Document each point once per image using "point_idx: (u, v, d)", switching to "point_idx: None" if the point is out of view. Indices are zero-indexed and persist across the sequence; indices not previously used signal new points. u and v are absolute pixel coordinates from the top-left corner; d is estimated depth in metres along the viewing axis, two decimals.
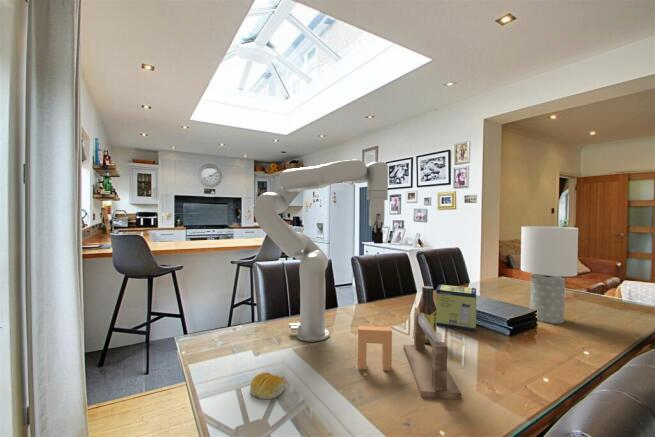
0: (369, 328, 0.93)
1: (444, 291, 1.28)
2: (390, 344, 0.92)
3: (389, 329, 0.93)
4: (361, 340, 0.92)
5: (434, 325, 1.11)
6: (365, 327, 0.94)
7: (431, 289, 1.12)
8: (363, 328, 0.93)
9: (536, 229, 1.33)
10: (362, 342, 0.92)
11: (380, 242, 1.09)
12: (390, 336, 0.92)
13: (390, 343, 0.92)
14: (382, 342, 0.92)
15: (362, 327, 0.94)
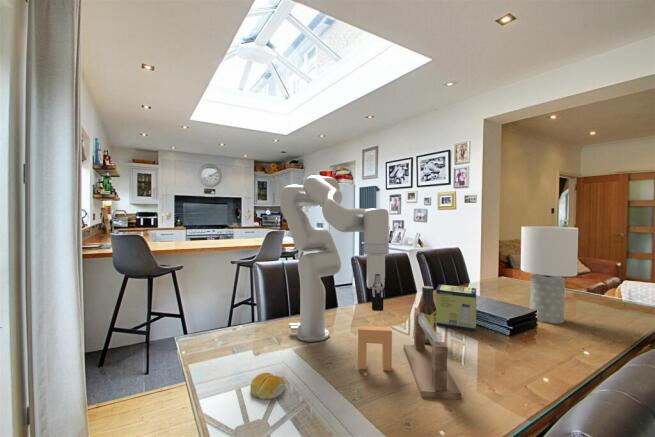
0: (369, 328, 0.93)
1: (444, 291, 1.28)
2: (390, 344, 0.92)
3: (389, 329, 0.93)
4: (361, 340, 0.92)
5: (434, 325, 1.11)
6: (365, 327, 0.94)
7: (431, 289, 1.12)
8: (363, 328, 0.93)
9: (536, 229, 1.33)
10: (362, 342, 0.92)
11: (380, 309, 0.88)
12: (390, 336, 0.92)
13: (390, 343, 0.92)
14: (382, 342, 0.92)
15: (362, 327, 0.94)
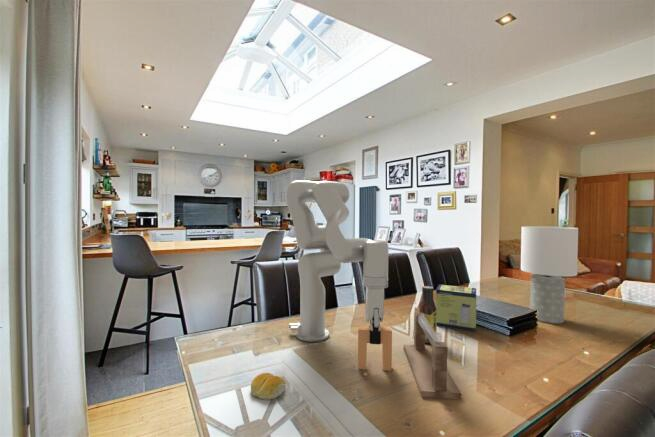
0: (369, 328, 0.93)
1: (444, 291, 1.28)
2: (390, 344, 0.92)
3: (389, 329, 0.93)
4: (361, 340, 0.92)
5: (434, 325, 1.11)
6: (365, 327, 0.94)
7: (431, 289, 1.12)
8: (363, 328, 0.93)
9: (536, 229, 1.33)
10: (362, 342, 0.92)
11: (377, 343, 0.91)
12: (390, 336, 0.92)
13: (390, 343, 0.92)
14: (382, 342, 0.92)
15: (362, 327, 0.94)
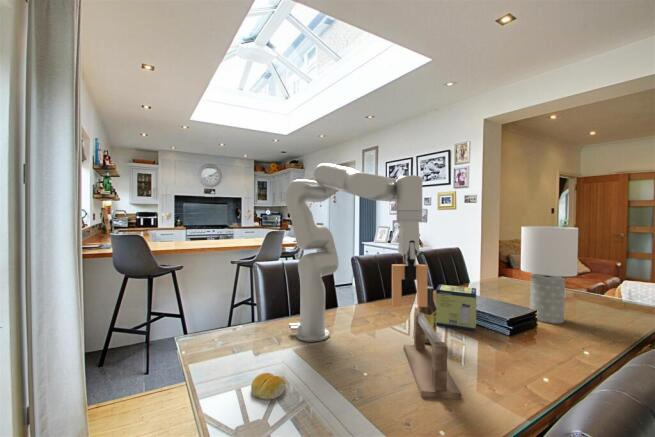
0: (403, 265, 0.92)
1: (444, 291, 1.28)
2: (426, 280, 0.90)
3: (424, 265, 0.91)
4: (396, 276, 0.91)
5: (434, 325, 1.11)
6: (399, 264, 0.93)
7: (431, 289, 1.12)
8: (397, 265, 0.92)
9: (536, 229, 1.33)
10: (397, 278, 0.91)
11: (413, 278, 0.90)
12: (425, 271, 0.90)
13: (426, 279, 0.90)
14: (417, 278, 0.90)
15: (396, 264, 0.93)
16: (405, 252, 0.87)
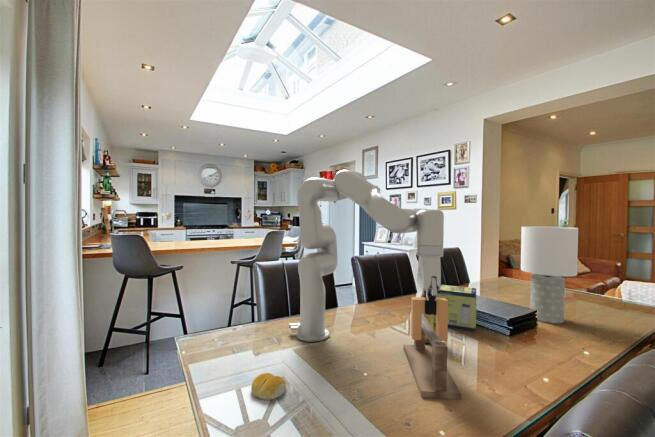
0: (423, 298, 0.92)
1: (444, 291, 1.28)
2: (446, 314, 0.90)
3: (444, 299, 0.91)
4: (416, 310, 0.91)
5: (434, 325, 1.11)
6: (419, 298, 0.93)
7: None
8: (417, 298, 0.92)
9: (536, 229, 1.33)
10: (417, 312, 0.91)
11: (433, 313, 0.90)
12: (446, 306, 0.90)
13: (446, 313, 0.90)
14: (438, 312, 0.90)
15: (416, 298, 0.93)
16: (427, 288, 0.87)
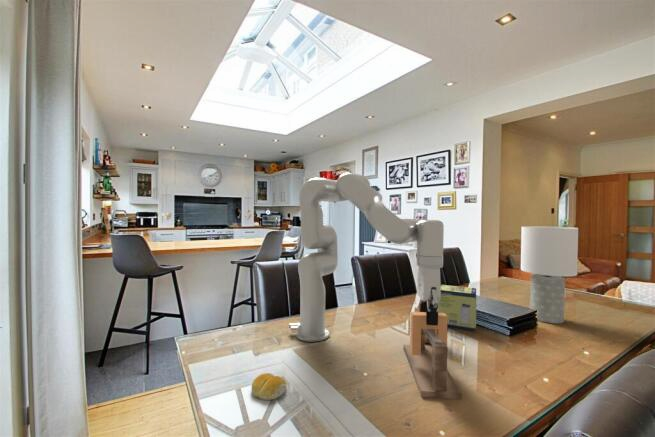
0: (423, 314, 0.92)
1: (444, 291, 1.28)
2: (445, 330, 0.90)
3: (444, 314, 0.91)
4: (415, 326, 0.91)
5: None
6: (418, 313, 0.93)
7: None
8: (417, 314, 0.92)
9: (536, 229, 1.33)
10: (416, 328, 0.91)
11: (434, 324, 0.88)
12: (445, 321, 0.90)
13: (445, 329, 0.90)
14: (437, 328, 0.91)
15: (415, 313, 0.93)
16: (426, 298, 0.87)
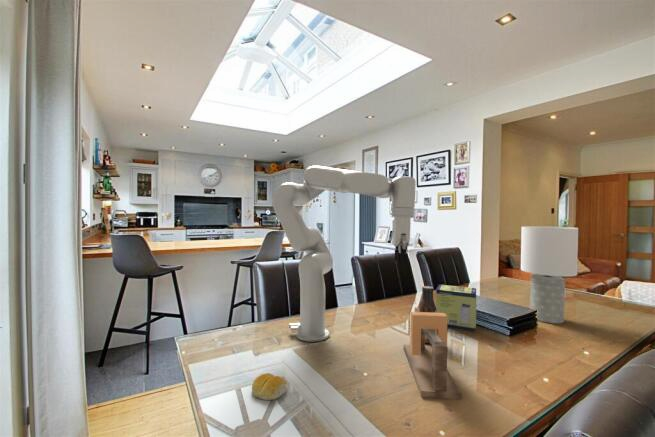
0: (423, 314, 0.92)
1: (444, 291, 1.28)
2: (445, 330, 0.90)
3: (444, 314, 0.91)
4: (415, 326, 0.91)
5: None
6: (418, 313, 0.93)
7: (431, 289, 1.12)
8: (417, 314, 0.92)
9: (536, 229, 1.33)
10: (416, 328, 0.91)
11: (404, 264, 1.00)
12: (445, 321, 0.90)
13: (445, 329, 0.90)
14: (437, 328, 0.91)
15: (415, 313, 0.93)
16: (397, 243, 1.00)
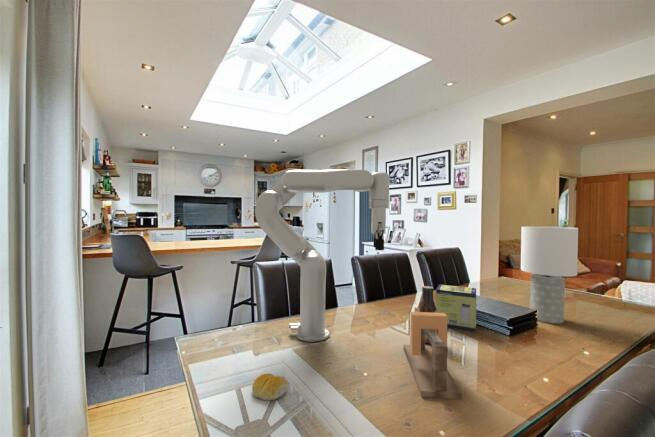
0: (423, 314, 0.92)
1: (444, 291, 1.28)
2: (445, 330, 0.90)
3: (444, 314, 0.91)
4: (415, 326, 0.91)
5: None
6: (418, 313, 0.93)
7: (431, 289, 1.12)
8: (417, 314, 0.92)
9: (536, 229, 1.33)
10: (416, 328, 0.91)
11: (381, 249, 1.15)
12: (445, 321, 0.90)
13: (445, 329, 0.90)
14: (437, 328, 0.91)
15: (415, 313, 0.93)
16: (374, 231, 1.15)
